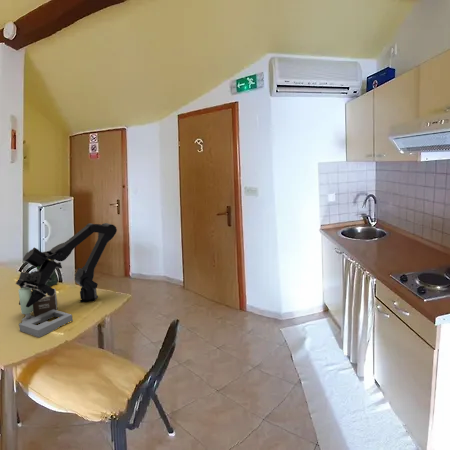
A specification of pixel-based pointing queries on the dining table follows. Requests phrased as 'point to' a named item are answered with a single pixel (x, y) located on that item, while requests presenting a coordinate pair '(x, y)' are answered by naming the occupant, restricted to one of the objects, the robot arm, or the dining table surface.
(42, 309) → the coffee box
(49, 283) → the coffee jar
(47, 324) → the keyhole plate
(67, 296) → the dining table surface
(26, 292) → the peg
